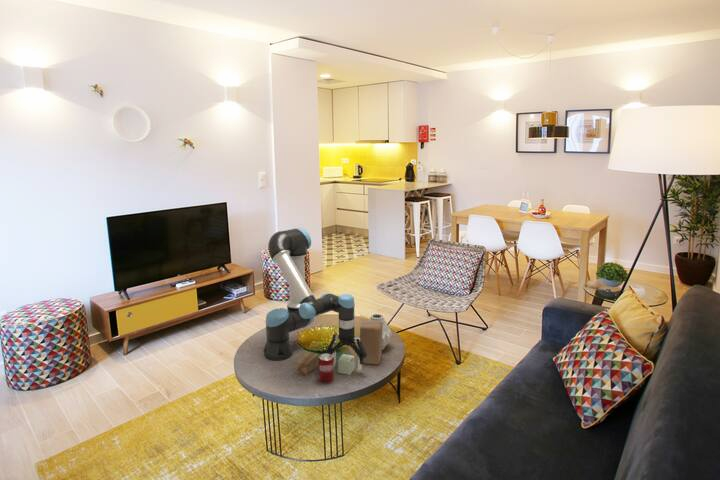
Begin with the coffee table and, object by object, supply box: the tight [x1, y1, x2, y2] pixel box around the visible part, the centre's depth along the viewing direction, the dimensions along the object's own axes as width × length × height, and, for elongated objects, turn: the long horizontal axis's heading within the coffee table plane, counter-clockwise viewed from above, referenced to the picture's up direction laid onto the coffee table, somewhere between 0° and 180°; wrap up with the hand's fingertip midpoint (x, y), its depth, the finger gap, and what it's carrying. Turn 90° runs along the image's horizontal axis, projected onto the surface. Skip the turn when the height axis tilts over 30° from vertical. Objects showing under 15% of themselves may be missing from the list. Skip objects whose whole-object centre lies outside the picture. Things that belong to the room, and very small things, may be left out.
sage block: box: [337, 353, 355, 375], centre depth 227 cm, size 6×6×7 cm
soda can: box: [317, 353, 335, 385], centre depth 217 cm, size 7×7×12 cm
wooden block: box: [359, 319, 383, 366], centre depth 236 cm, size 10×10×20 cm
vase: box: [368, 313, 393, 351], centre depth 250 cm, size 16×16×18 cm
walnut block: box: [296, 351, 319, 377], centre depth 228 cm, size 5×12×6 cm, turn 158°
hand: (346, 367), depth 227 cm, fingers open, 13 cm apart
